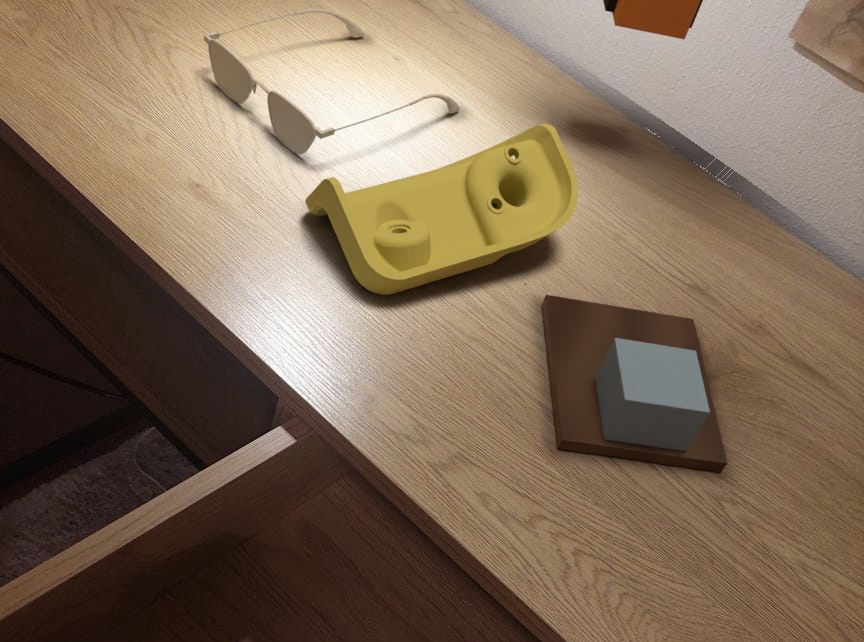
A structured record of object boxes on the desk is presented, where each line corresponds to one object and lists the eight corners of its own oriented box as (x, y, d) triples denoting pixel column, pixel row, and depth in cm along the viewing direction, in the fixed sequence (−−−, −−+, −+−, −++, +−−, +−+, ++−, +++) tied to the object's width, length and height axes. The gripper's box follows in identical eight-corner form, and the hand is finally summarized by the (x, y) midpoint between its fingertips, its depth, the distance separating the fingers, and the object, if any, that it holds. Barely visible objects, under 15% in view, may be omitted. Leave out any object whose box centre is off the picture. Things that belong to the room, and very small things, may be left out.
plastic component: (377, 287, 76) (322, 159, 76) (346, 326, 83) (296, 209, 83) (596, 221, 83) (545, 105, 83) (551, 262, 90) (504, 154, 90)
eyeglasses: (199, 73, 92) (201, 28, 88) (354, 30, 101) (362, -13, 98) (313, 172, 86) (320, 128, 83) (466, 117, 96) (478, 75, 92)
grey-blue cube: (673, 390, 78) (696, 350, 74) (685, 452, 74) (710, 412, 71) (594, 378, 77) (614, 337, 74) (603, 440, 73) (625, 399, 70)
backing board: (688, 328, 84) (693, 318, 83) (721, 472, 75) (727, 463, 74) (541, 304, 82) (545, 294, 81) (557, 449, 73) (562, 439, 73)
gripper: (648, -357, 67) (539, 11, 85) (927, -287, 69) (762, 56, 87) (634, -389, 71) (533, -33, 89) (896, -323, 74) (745, 11, 92)
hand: (646, 10), depth 88 cm, fingers closed on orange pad, 6 cm apart
